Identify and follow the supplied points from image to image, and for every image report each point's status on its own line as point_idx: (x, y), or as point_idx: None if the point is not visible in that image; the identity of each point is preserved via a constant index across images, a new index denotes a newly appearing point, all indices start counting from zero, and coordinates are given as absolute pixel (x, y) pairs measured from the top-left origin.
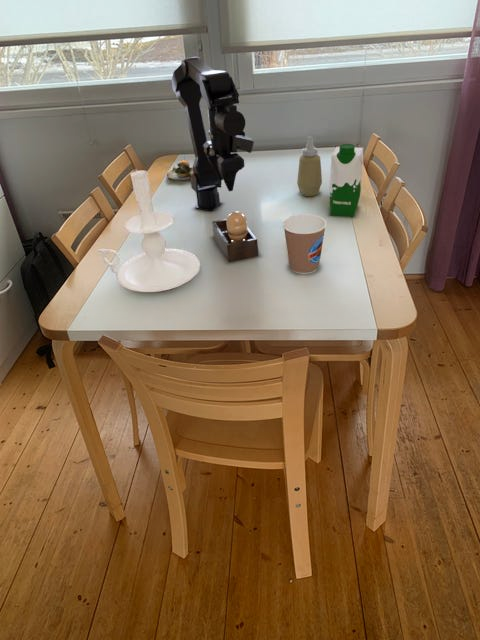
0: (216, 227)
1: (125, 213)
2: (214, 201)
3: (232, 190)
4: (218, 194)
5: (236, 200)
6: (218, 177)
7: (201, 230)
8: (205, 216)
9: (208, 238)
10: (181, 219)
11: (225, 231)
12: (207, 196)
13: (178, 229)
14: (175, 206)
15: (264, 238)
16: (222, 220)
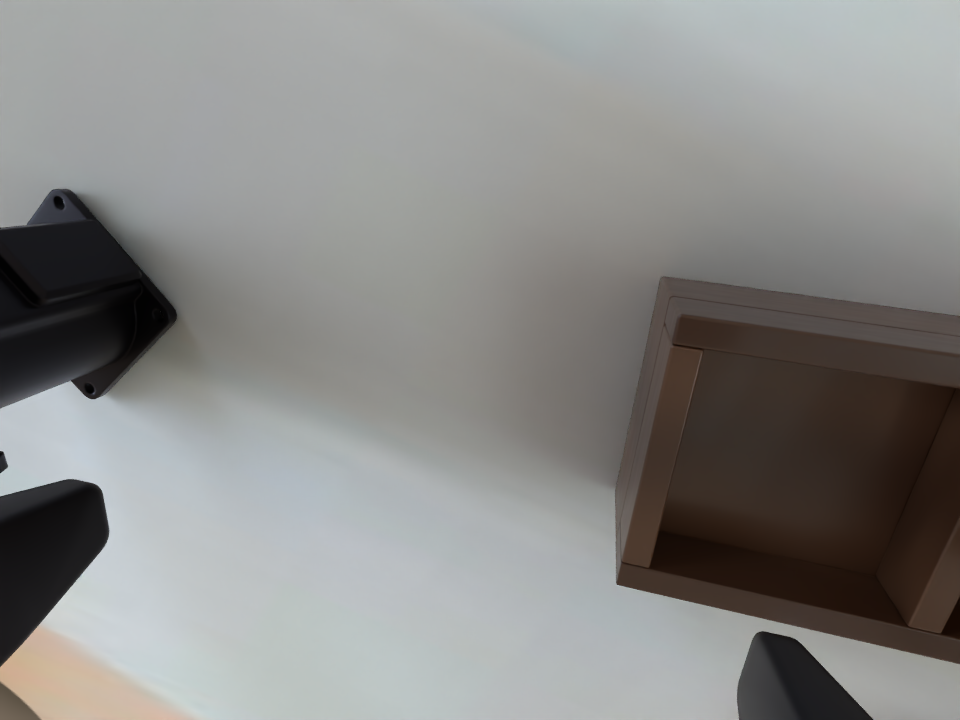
0: (776, 616)
1: (56, 702)
2: (98, 290)
3: (794, 642)
4: (13, 237)
5: (36, 34)
6: (57, 597)
7: (451, 504)
8: (245, 388)
9: (601, 522)
10: (230, 530)
11: (934, 599)
12: (46, 354)
13: (362, 602)
14: (33, 479)
15: (948, 131)
16: (659, 504)
